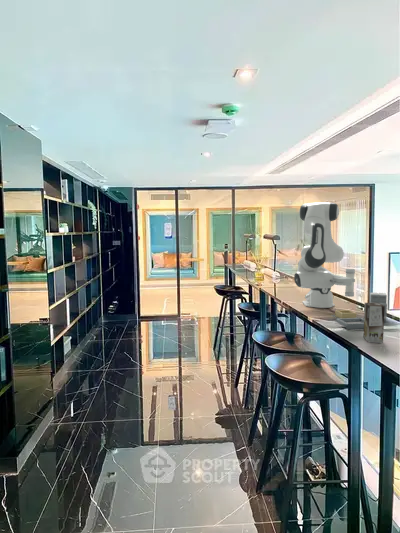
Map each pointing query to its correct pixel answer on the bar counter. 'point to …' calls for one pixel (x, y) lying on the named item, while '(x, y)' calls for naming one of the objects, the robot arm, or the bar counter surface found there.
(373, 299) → the circuit breaker
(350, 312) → the block
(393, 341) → the bar counter surface
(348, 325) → the parts tray
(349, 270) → the cylinder
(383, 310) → the coffee box
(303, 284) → the robot arm
